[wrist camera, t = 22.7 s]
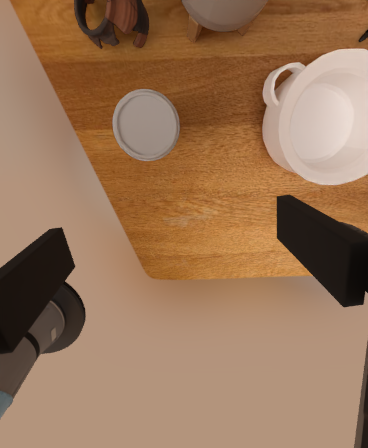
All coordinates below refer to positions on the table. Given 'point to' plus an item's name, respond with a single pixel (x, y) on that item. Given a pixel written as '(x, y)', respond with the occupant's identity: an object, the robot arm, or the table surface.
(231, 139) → the table surface
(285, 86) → the pot
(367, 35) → the pen
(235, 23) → the planter
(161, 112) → the disposable coffee cup
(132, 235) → the table surface
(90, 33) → the pottery mug
